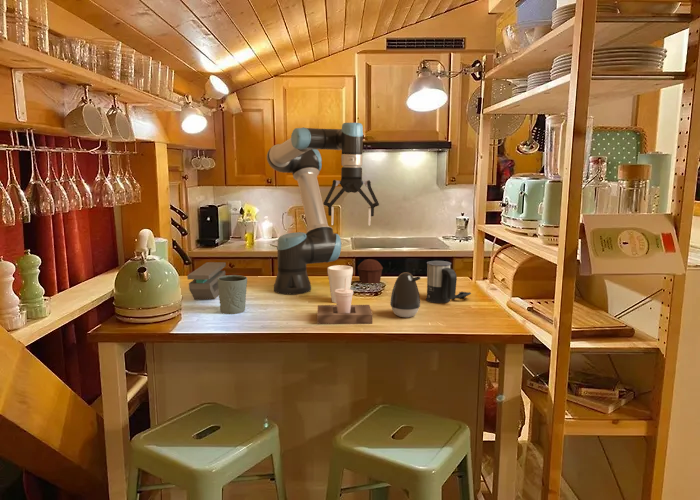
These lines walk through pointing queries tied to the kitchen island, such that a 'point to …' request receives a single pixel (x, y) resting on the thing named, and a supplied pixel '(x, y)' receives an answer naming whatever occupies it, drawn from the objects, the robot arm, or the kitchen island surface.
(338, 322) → the bottle holder
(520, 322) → the kitchen island surface
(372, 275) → the muffin
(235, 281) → the embossed green cup
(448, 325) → the kitchen island surface
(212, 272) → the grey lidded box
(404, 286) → the pump dispenser
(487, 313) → the kitchen island surface
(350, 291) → the smoothie
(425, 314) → the kitchen island surface
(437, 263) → the milk frother
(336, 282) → the foam cup
